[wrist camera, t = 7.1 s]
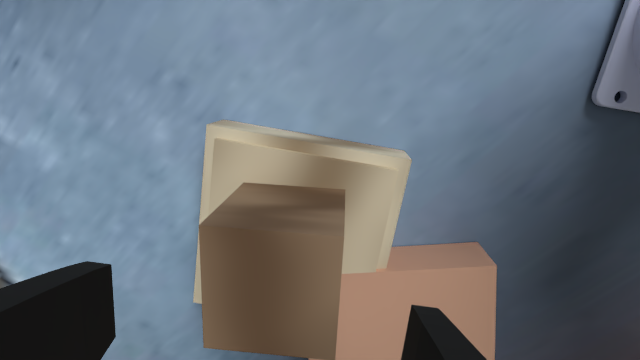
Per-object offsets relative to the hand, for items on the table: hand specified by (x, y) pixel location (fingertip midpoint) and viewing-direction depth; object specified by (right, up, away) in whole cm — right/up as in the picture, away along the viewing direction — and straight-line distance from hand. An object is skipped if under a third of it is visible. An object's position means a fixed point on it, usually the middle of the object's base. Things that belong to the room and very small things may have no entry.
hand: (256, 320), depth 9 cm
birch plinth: (0, +1, +10) cm, 10 cm away
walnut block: (0, +1, +8) cm, 8 cm away
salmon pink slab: (+6, -5, +12) cm, 14 cm away
